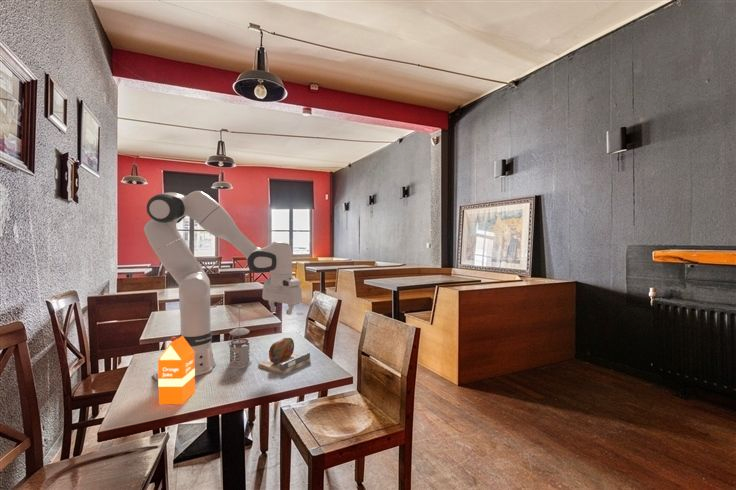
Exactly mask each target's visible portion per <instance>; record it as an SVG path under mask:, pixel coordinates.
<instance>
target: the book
mask: <svg viewBox="0 0 736 490" xmlns="http://www.w3.org/2000/svg"><path fill="white" fill-rule="evenodd" d="M298 356H300V355H299V354H295V353H293V354H292V355H291V357H289V358H288V359H286V360H284V361H283V362H281V363H284V362H286V361H288V360H291V359H293V358H296V357H298ZM281 363H279V364H277V363H272V362H271V361H270V359H269V358H268V359H266V360H264V361H261V362H259V363H258V364H257V365H258V368H261V369H263V370H267V371H269V372H273V373H276V374H279V375H285V374H287V373H290V372H292V371H294V370H296V369H298V368H300V367H303V366H304V365H306V364H307V365H308V363H311V358H310V359H307V360H305V361H303V362H301V363H298V364H296V365H294V366H292V367H289V368H287V369H285V370H283V371H282V370H280V364H281Z"/></svg>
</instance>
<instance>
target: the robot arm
mask: <svg viewBox="0 0 736 490" xmlns="http://www.w3.org/2000/svg"><path fill="white" fill-rule="evenodd" d="M146 212H147V215H148V216H149V217H150V218H151V219H150V220H148V221H147V222H146V224H145V225H144V227H143V232H144V234H145V236H146V238H147V242H148V243H149V245H150V247H151V248H152V251H154V253H155V254H156V256H157V257H158V260H159V261H160V262H161V264H162V265H163V267H164V268H165V269H166V270H167V272H168V273H169V274H170V276H171V277H172V278H173V279H174V281H175V282H176V284H177V285H178V297H179V298H178V299H179V300H178V302H179V314H180V316H179V317H180V320H179V321H180V334H179V336H177V337H176V336H171V338H170V341H171V342H173V341H175V340H176V339H178V338H180V337H181V336H183V337H184V338H185V340H186V341H187V342H188V344H189V345H190V347H191V348H192V349H193V351H194V366H195V377H197V376H200V375H201V376H202V375H205V374H208V373H210V372H212V371H213V368H215V366H216V362H215V358H214V354H213V347H212V342H213V332H212V329H211V327H212V326H211V281H210V278H209V276H208V275H207V273H206V272H205V270H204V268H203V267H202V265H201V264H200V262H199V261H198V260H197V258H196V257H195V256H194V253H193V252H192V251H191V249H190V248H189V246H188V245H187V243H186V241H185V240H184V238H183V237H182V235H181V233H180V232H179V229H178V227H177V224H179V223H180V222H181V221H183V220H184V218H186V217H189V218H191V219H192V220H194V221H195V223H197V225H199V226H200V227H201V228H202V229H203V230H205V231H206V232H208V233H209V235H210V234H211V235H212V236H214V237H216V238H219V239H222V240H224V241H226V242H228V243H230V244H231V245H232V246H233V247H234V248H235V249H237V250H238V251H239V252H240V253H241V254H243V256H244V257H245V259H246V260H247V261H246V263H247V267H248V268H249V270H250V271H252V272H253V273H256V274H263V273H267V272H270V278H266V279H264V282H263V286H262V299H263V300H264V301H268V305H269V307H270V312H273V313H275V312H276V311H277V306H275V303H281V304H286V305H287V306H288V309H287V310H286V315H288V316H290V315H292V314H293V309H294V308H295V306H298V305H301V303H302V298H303V296H302V295H303V291H302V287H301V286H302V280H300V279H299V278H297V277H296V276H294V275H293V271H292V265H293V250H292V246H291V245H290V244H289V243H287V242H282V241H276V240H275V241H273V242H272V243H270V244H268V245H266V246H264V247H260V246H258V245H256V244H255V243H254V242H252V241H251V240H250V239H249V237H247V236H246V235H245V234H244V233H243V232H242V231H241V230H240V229H239V227H238V226H237V224H236V223H235V221H234V219H233V217H231V214H229V212H228V211H227V210H226V209H225V208H224V207H223V206H222V205H221V204H220V203H218V202H217V201H216V200H215V199H213V198H212V197H211V196H210V195H209V194H207V193H205V192H203V191H202V190H194V191H192V192H190V193H188V194H187V195H186V194H184V193H181V192H177V191H173V192H172V191H168V192H163V193H159V194H156V195H153V196H152V197H151V198H150V199H149V200H148V201H147V204H146ZM152 377H153V378H154V379H155V380H156V381H158V370H156V371H153V373H152Z"/></svg>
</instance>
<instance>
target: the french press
mask: <svg viewBox="0 0 736 490" xmlns="http://www.w3.org/2000/svg"><path fill="white" fill-rule="evenodd" d="M242 308H243V307H242V305H240V304H239V305H237V306H236V309H238V327H236V328H233V329H232V330H230V331H229V332H228V334H229V336H228V340H230V338H231V336H232V338H231V341H230V342H228V346H229V347H228V348H229V362H228V364H227V368H230V369H237V370H238V369H243V368H247V367H249V366H251V365H252V364H253V362H252V360H250V343H249V339H247V338H241V336H245V335H248V334H249V333H250V331H251V330H250V329H247V328H245V327H241V325H240V324H241V320H240V319H241V317H240V316H241V315H240V311H241V310H240V309H242ZM235 337H238V338H236V339H234V338H235Z"/></svg>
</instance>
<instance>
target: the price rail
mask: <svg viewBox="0 0 736 490" xmlns="http://www.w3.org/2000/svg"><path fill="white" fill-rule="evenodd" d="M307 359H310V360H311V352H305V353H303V354H300V355H299V356H298V357H296V358H293V359H291V360H288V361H286V362H284V363H281V364H280V370H282V371H283V370H285V369H287V368H289V367H292V366H294V365H296V364H298V363H301V362H303V361H305V360H307Z"/></svg>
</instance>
